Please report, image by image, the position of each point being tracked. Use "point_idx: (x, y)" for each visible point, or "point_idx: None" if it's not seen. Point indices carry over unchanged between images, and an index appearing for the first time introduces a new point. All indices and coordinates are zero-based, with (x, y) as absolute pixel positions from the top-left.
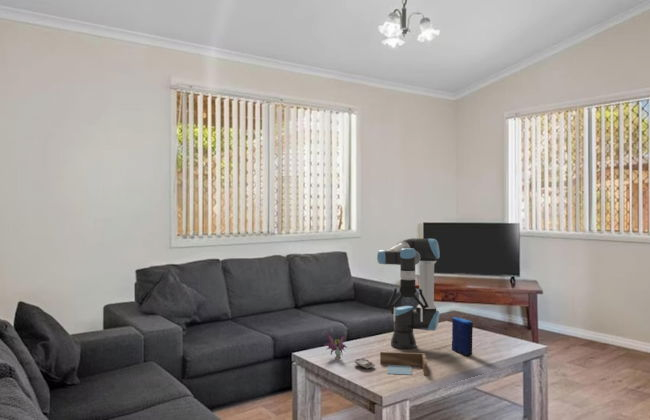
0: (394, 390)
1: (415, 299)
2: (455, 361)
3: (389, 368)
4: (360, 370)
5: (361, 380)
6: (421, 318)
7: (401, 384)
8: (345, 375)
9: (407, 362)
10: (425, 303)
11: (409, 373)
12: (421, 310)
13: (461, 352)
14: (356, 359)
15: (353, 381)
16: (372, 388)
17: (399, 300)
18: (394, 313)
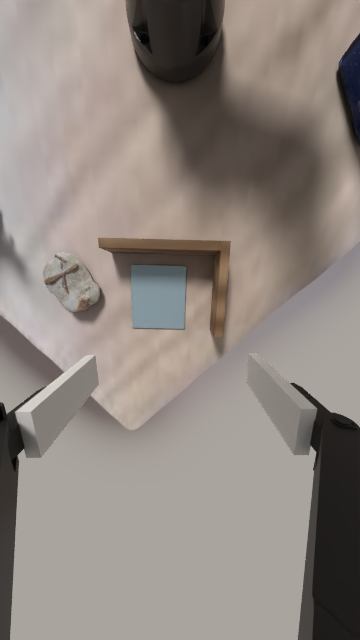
0: (149, 410)
1: (301, 629)
2: (308, 206)
3: (135, 293)
4: None
5: None
6: (257, 394)
7: (161, 382)
8: (47, 346)
9: (178, 253)
10: None
11: (179, 323)
12: (288, 440)
13: (355, 120)
14: (45, 282)
15: None
16: (110, 406)
17: (8, 587)
18: (66, 418)
